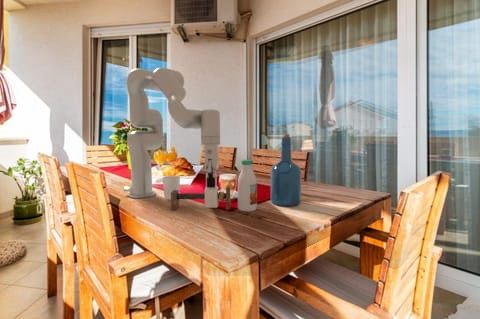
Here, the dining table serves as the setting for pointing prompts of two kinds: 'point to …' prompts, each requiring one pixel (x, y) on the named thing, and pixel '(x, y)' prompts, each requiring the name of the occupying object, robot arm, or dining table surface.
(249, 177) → the milk bottle
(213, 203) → the marker sleeve
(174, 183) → the white cup
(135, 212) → the dining table surface
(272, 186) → the wine bottle
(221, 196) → the cord rail
